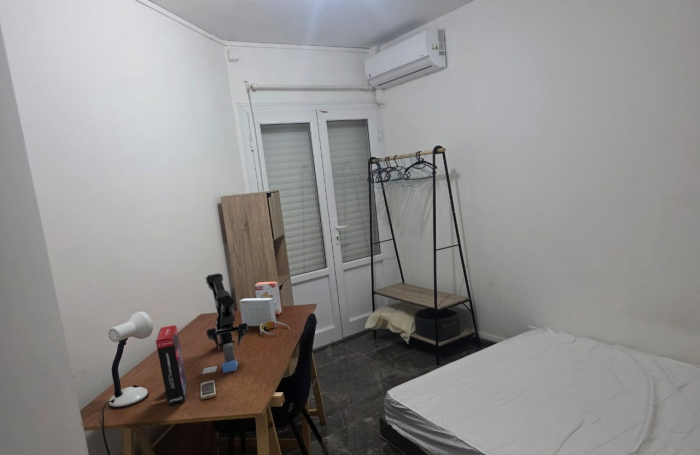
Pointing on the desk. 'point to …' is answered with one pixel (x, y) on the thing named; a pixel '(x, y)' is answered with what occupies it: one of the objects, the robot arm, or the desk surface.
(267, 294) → the cracker box
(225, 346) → the tall grey square pillar
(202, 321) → the desk surface
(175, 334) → the graphics card box
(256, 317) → the skincare box
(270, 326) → the sunglasses
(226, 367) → the white block board
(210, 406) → the desk surface
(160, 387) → the desk surface
